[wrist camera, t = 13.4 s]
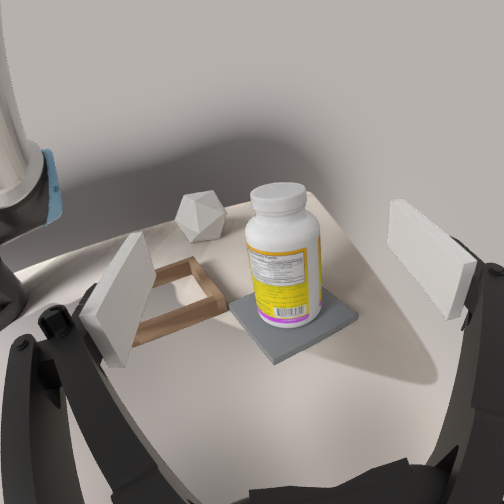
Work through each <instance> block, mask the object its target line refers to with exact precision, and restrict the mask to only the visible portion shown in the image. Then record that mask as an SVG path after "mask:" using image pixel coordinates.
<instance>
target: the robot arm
mask: <svg viewBox="0 0 504 504" xmlns="http://www.w3.org/2000/svg"><path fill="white" fill-rule="evenodd" d="M62 210H63V207H62V199H61V194H60V189H59V184H58V177H57V172H56V167H55V162H54V158H53V154H52V152H51V150H49V149H45V150H43V149H42V150H41V149H40V148H39V146H38V145H37V144H36V143H35V142H33V141H31V140H29V139H27V138H26V135H25V132H24V129H23V125H22V122H21V118H20V115H19V111H18V108H17V104H16V100H15V96H14V91H13V87H12V83H11V78H10V73H9V68H8V63H7V57H6V51H5V44H4V37H3V29H2V20H1V7H0V247H1V246H3V245H5V244H7V243H9V242H11V241H13V240H15V239H17V238H19V237H21V236H23V235H25V234H27V233H30V232H32V231H34V230H36V229H38V228H40V227H45V226H47V225H48V223H51V222H53V221H54V220H57V219H58V218H59V217H60V216H61V214H62ZM387 246H388V247H389V248H390V249H391V251H392V252H393V253H394V254H395V255H396V257H397V258H398V259H399V260H400V261H401V262H402V264H403V265H404V266H405V267H406V268H407V270H408V271H409V272H410V273H411V275H412V276H413V277H414V278H415V279H416V280H417V282H418V283H419V285H420V286H421V287H422V288H423V290H424V291H425V292H426V293H427V295H428V296H429V297H430V299H431V300H432V301H433V302H434V304H435V305H436V306H437V308H438V309H439V310H440V312H441V313H442V314H443V316H444V317H445V319H446V320H450V319H453V318H456V317H459V316H460V314H461V312H462V309H463V306H464V305H465V306H466V308H467V309H468V314H467V316H466V318H465V321H464V324H463V326H462V329H461V331H463V330H464V336H463V342H462V348H461V354H460V359H459V364H458V369H457V374H456V378H455V383H454V387H453V391H452V395H451V399H450V402H449V406H448V410H447V413H446V416H445V420H444V423H443V426H442V429H441V432H440V436H439V439H438V441H437V444H436V447H435V449H434V451H433V453H432V455H431V456H430V458H429V460H428V461H427V463H426V465H409V463H408V460H407V458H404V459H401V460H398V461H395V462H392V463H389V464H386V465H382V466H379V467H376V468H372V469H370V470H368V471H366V472H365V473H363V474H361V475H359V476H357V477H355V478H353V479H351V480H349V481H347V482H345V483H343V484H341V485H339V486H336V487H333V488H318V487H297V486H285V487H276V488H267V489H254V490H249V497H247V498H244V499H241V500H238V501H236V502H233V503H232V504H504V501H503V496H504V268H503V267H502V266H500V265H498V264H495V263H486V264H485V263H484V262H483V261H482V260H480V259H479V258H478V257H477V256H476V255H475V254H474V253H473V252H471V251H470V250H469V249H468V248H467V247H465V246H464V244H462V243H461V242H460V241H459V240H457V239H455V238H453V237H451V236H449V235H447V234H446V233H445V232H444V231H443V230H441V229H440V228H439V227H437V226H436V225H435V224H434V223H433V222H431V221H430V220H429V219H428V218H426V217H425V216H424V215H423V214H421V213H420V212H419V211H418V210H416V209H415V208H414V207H412V206H411V205H410V204H408V203H407V202H406V201H404V200H403V199H395V200H390V213H389V226H388V238H387ZM155 279H156V273H155V270H154V267H153V263H152V260H151V257H150V254H149V251H148V248H147V244H146V241H145V238H144V234H143V232H137V233H131V234H129V235H128V237H127V238H126V240H125V241H124V243H123V244H122V246H121V247H120V249H119V250H118V252H117V253H116V255H115V257H114V258H113V260H112V261H111V263H110V264H109V266H108V267H107V269H106V271H105V272H104V274H103V275H102V277H101V279H100V280H99V282H98V283H95V284H93V285H92V286H91V287H90V288H89V289H88V290H87V291H86V293H85V294H84V296H83V299H81V301H80V302H79V305H78V306H77V308H76V309H75V311H74V313H73V314H72V316H70V314H69V313H68V311H67V309H66V307H65V306H64V305H55V306H52V307H50V308H48V309H47V310H46V311H44V312H43V313H42V315H41V316H40V317H39V319H38V324H39V326H40V328H41V329H42V331H43V332H44V334H45V336H46V337H47V340H43V341H40V342H37V341H36V340H35V338H34V337H33V336H32V335H31V334H25V335H22V336H20V337H18V338H17V339H16V340H15V341H14V342H13V344H12V345H11V348H10V353H9V358H8V365H7V371H6V377H5V386H4V394H3V404H2V420H1V474H2V487H3V497H4V504H85V503H84V500H83V496H82V492H81V488H80V484H79V479H78V476H77V471H76V465H75V460H74V455H73V449H72V443H71V437H70V430H69V422H68V414H67V404H66V396H67V399H68V401H69V404H70V407H71V409H72V411H73V414H74V416H75V418H76V421H77V423H78V425H79V428H80V430H81V432H82V434H83V436H84V438H85V441H86V443H87V445H88V447H89V448H90V451H91V453H92V455H93V457H94V459H95V460H96V462H97V464H98V466H99V468H100V469H101V471H102V473H103V475H104V477H105V478H106V480H107V482H108V484H109V485H110V487H111V489H112V491H113V494H112V495H111V500H112V502H113V504H202V503H201V502H200V501H199V500H198V499H197V498H196V497H195V496H193V494H191V492H190V491H189V490H188V489H187V488H186V487H185V486H184V485H183V483H182V482H181V481H180V480H179V479H178V478H177V476H176V475H175V474H174V473H173V472H172V470H171V469H170V468H169V467H168V466H167V465H166V463H165V462H164V461H163V459H162V458H161V457H160V455H159V454H158V453H157V452H156V450H155V449H154V448H153V447H152V445H151V444H150V442H149V441H148V439H147V438H146V437H145V435H144V434H143V433H142V431H141V430H140V428H139V427H138V425H137V424H136V422H135V421H134V420H133V418H132V416H131V415H130V413H129V412H128V411H127V409H126V407H125V406H124V404H123V403H122V401H121V399H120V398H119V396H118V395H117V393H116V391H115V390H114V388H113V386H112V385H111V383H110V381H109V379H108V378H107V376H106V374H105V372H104V371H103V369H102V368H101V366H100V364H101V361H102V358H103V359H104V360H105V362H106V364H107V365H108V367H112V368H114V367H116V368H119V367H120V368H125V366H126V363H127V359H128V356H129V353H130V350H131V347H132V344H133V341H134V338H135V335H136V332H137V329H138V326H139V323H140V320H141V317H142V314H143V311H144V308H145V306H146V303H147V300H148V297H149V295H150V292H151V289H152V287H153V284H154V281H155ZM27 299H28V294H27V292H26V290H25V288H24V286H23V284H22V283H21V281H20V280H19V279H18V278H17V277H16V276H15V275H14V274H13V273H12V272H11V271H10V269H9V268H8V267H7V266H6V265H5V264H4V263H3V261H2V260H1V257H0V331H1V330H3V329H4V328H5V327H7V326H8V325H9V324H10V323H11V322H12V321H13V320H14V319H15V318H16V317H17V316H18V315H19V314H20V312H21V311H22V310H23V308H24V306H25V304H26V302H27ZM464 328H465V329H464Z"/></svg>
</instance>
